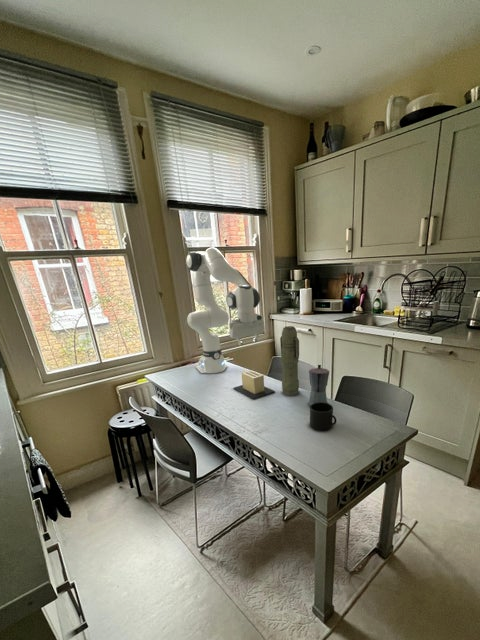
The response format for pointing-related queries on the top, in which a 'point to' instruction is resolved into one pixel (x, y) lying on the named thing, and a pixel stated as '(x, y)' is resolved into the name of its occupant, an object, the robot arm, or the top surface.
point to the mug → (321, 416)
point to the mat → (252, 395)
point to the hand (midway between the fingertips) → (248, 343)
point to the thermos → (290, 360)
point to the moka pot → (318, 384)
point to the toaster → (253, 381)
